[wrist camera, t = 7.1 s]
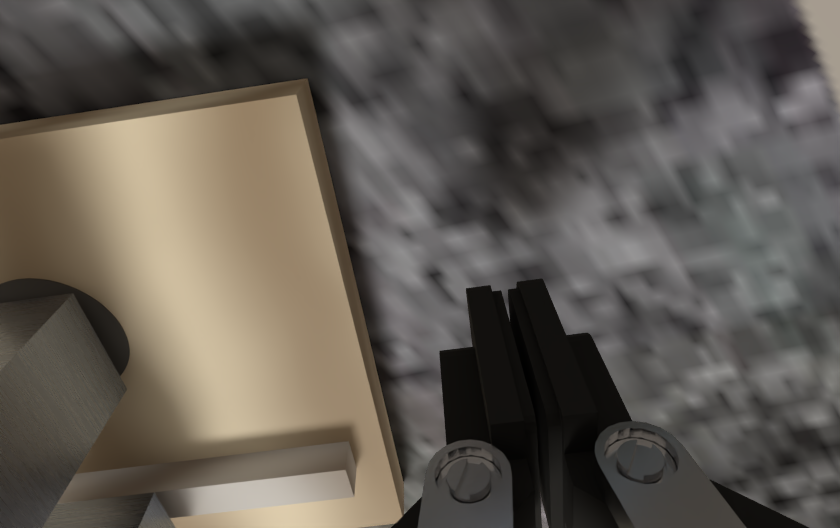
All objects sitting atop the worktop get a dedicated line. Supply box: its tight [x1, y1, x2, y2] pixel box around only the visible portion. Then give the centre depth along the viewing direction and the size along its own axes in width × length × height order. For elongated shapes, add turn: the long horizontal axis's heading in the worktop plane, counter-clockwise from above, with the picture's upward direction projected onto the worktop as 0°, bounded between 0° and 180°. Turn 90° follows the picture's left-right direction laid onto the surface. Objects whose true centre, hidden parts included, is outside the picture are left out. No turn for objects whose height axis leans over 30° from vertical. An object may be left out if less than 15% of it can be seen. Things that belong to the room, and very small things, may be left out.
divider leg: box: [0, 293, 176, 528], centre depth 12 cm, size 3×8×5 cm, turn 8°
